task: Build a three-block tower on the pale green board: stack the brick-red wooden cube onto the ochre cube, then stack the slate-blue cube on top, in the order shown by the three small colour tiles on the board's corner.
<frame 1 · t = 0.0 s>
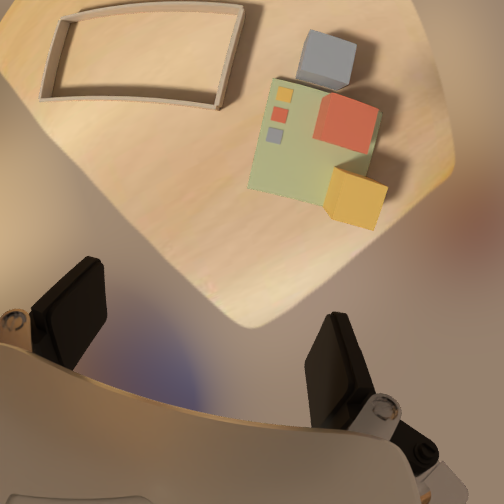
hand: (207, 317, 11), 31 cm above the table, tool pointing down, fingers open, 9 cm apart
beige open rectangular frame: (131, 52, 31), on the table
red block: (338, 124, 34), point 1 cm above the table, touching building board
slate block: (320, 66, 32), on the table
ochre block: (347, 192, 38), point 1 cm above the table, touching building board
building board: (315, 146, 37), on the table
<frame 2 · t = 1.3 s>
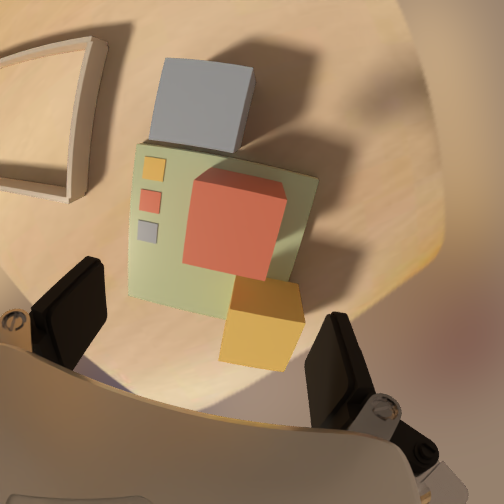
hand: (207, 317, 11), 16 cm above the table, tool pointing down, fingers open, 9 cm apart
beige open rectangular frame: (3, 120, 21), on the table
red block: (238, 208, 24), point 1 cm above the table, touching building board
slate block: (213, 108, 22), on the table
ochre block: (260, 303, 28), point 1 cm above the table, touching building board
building board: (210, 240, 27), on the table
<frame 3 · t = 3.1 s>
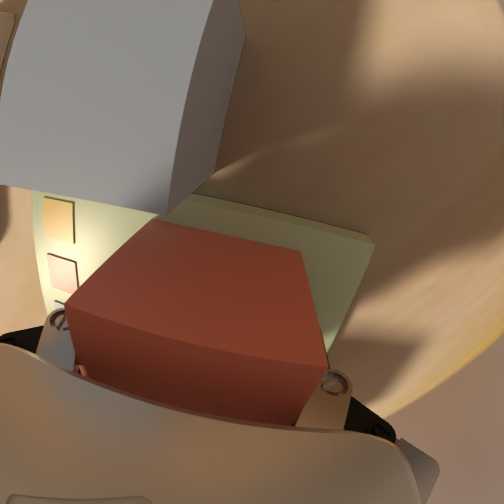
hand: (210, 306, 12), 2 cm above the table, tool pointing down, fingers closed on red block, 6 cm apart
red block: (212, 298, 12), point 1 cm above the table, touching building board, gripper
slate block: (159, 93, 10), on the table
building board: (171, 335, 15), on the table
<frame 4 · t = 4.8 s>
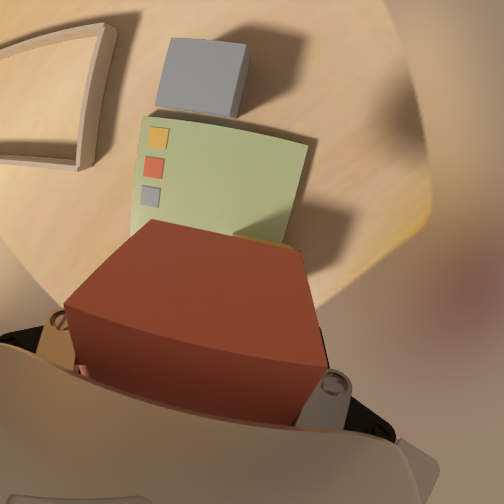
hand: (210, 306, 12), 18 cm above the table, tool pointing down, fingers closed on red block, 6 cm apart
beige open rectangular frame: (15, 102, 22), on the table
red block: (212, 298, 12), point 17 cm above the table, touching gripper
slate block: (212, 84, 23), on the table
building board: (209, 204, 28), on the table
when the fingers open (9 cm above the table, at t = 7.3 s): red block drops 1 cm, resting on ochre block.
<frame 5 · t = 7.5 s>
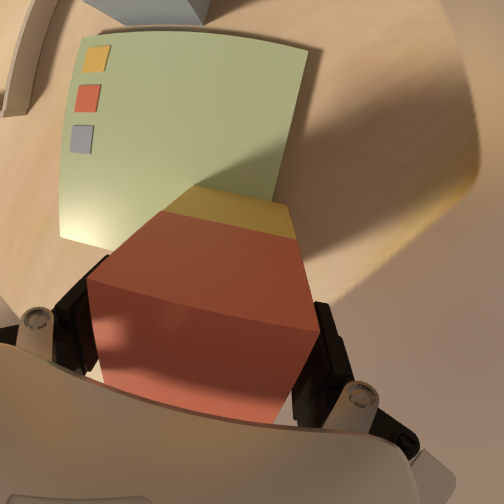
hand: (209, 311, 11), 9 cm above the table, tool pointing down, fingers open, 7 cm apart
red block: (216, 284, 13), point 7 cm above the table, touching ochre block
ochre block: (230, 238, 19), point 1 cm above the table, touching building board, red block
building board: (161, 145, 17), on the table
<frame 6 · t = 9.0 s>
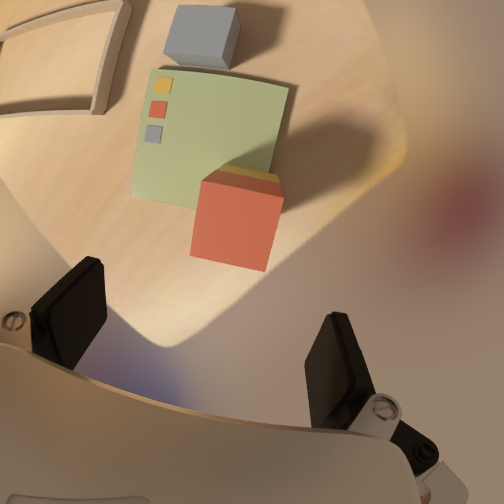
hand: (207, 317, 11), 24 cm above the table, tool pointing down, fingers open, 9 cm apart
beige open rectangular frame: (36, 66, 25), on the table
red block: (241, 207, 26), point 7 cm above the table, touching ochre block
slate block: (210, 45, 26), on the table
ochre block: (245, 194, 32), point 1 cm above the table, touching building board, red block
building board: (204, 141, 31), on the table
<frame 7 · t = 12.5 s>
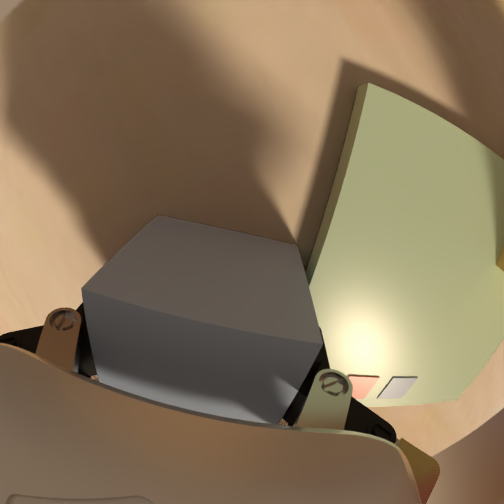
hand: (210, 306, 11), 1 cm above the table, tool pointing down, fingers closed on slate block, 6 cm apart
slate block: (215, 289, 13), on the table, touching gripper
building board: (439, 296, 13), on the table
when the fingers open (15 cm above the table, at t = 18.0 s): slate block stays where it is, resting on red block.
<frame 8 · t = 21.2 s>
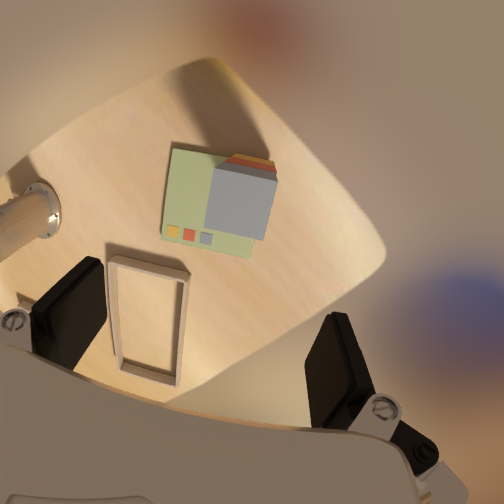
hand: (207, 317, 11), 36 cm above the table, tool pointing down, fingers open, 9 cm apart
beige open rectangular frame: (149, 326, 58), on the table
red block: (248, 182, 37), point 7 cm above the table, touching ochre block, slate block
slate block: (243, 191, 32), point 13 cm above the table, touching red block
ochre block: (250, 175, 43), point 1 cm above the table, touching building board, red block
building board: (213, 203, 46), on the table
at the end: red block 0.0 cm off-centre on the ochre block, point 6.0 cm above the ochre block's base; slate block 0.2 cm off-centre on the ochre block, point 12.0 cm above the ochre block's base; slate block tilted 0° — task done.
